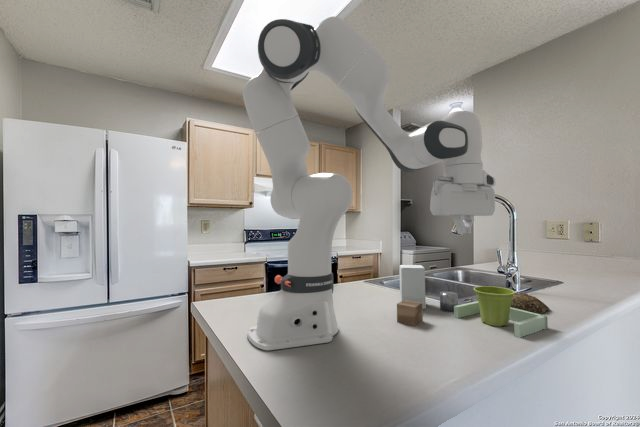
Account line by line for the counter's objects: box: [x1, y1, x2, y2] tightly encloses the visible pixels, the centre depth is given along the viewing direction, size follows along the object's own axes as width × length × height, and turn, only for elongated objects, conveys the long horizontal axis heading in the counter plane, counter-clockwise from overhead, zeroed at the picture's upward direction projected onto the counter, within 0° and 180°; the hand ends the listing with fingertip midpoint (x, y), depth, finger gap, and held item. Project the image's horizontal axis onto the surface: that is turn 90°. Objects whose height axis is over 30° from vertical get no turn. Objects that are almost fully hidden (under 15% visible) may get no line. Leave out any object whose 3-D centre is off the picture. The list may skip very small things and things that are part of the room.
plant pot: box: [473, 285, 516, 327], centre depth 78 cm, size 9×9×9 cm
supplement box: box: [399, 264, 427, 310], centre depth 95 cm, size 7×7×13 cm
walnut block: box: [396, 300, 424, 327], centre depth 80 cm, size 5×5×5 cm
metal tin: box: [439, 290, 459, 313], centre depth 90 cm, size 5×5×5 cm
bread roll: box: [511, 292, 551, 315], centre depth 91 cm, size 13×12×5 cm
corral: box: [453, 300, 549, 338], centre depth 78 cm, size 12×17×3 cm
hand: (464, 234), depth 73 cm, fingers closed
